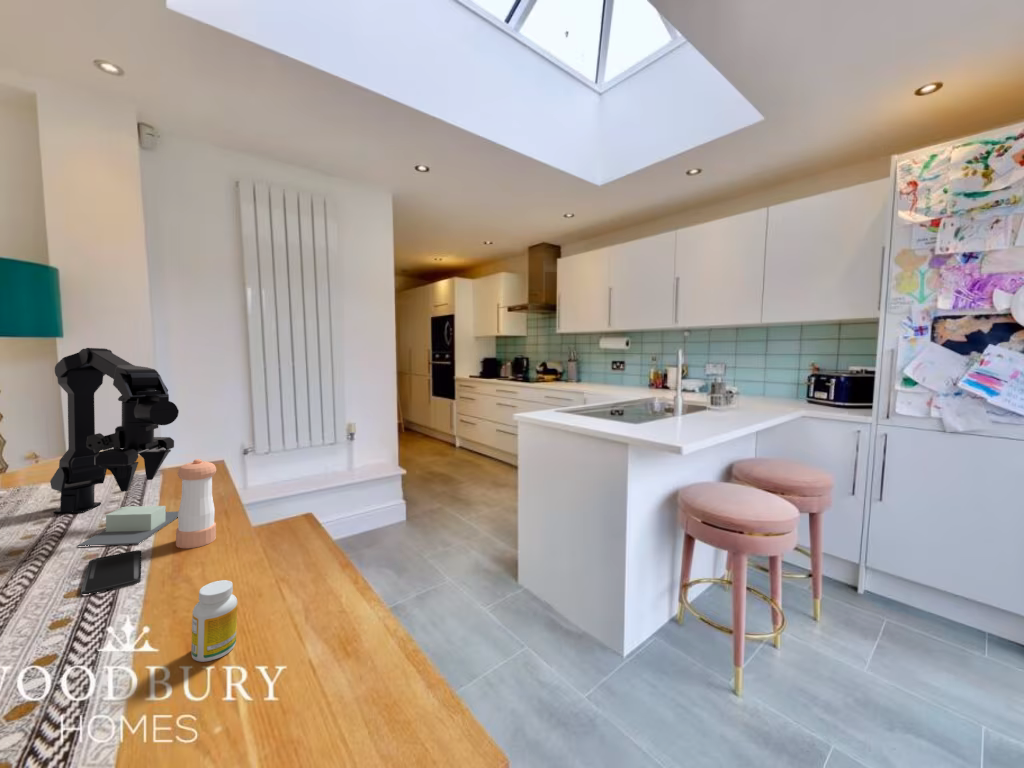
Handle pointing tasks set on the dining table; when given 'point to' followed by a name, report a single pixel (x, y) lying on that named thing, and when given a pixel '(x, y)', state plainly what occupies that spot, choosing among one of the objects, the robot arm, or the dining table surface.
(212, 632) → the supplement bottle
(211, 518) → the pepper shaker
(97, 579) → the phone
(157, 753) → the dining table surface
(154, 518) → the card case
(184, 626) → the dining table surface
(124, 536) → the rubber mat
